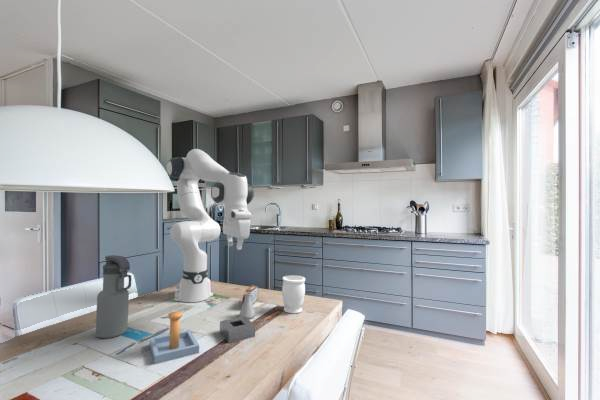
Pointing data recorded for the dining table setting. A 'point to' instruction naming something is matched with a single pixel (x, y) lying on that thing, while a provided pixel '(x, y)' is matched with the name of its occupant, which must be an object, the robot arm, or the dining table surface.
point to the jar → (293, 293)
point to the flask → (247, 307)
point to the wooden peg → (174, 329)
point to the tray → (164, 353)
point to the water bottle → (113, 298)
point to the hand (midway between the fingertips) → (234, 247)
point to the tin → (254, 292)
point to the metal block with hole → (237, 329)
